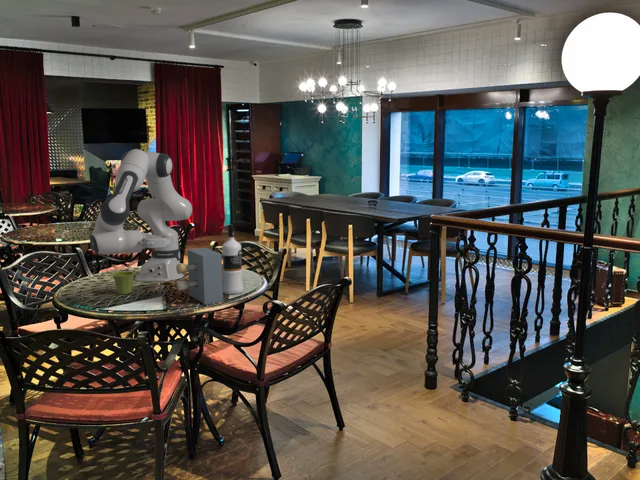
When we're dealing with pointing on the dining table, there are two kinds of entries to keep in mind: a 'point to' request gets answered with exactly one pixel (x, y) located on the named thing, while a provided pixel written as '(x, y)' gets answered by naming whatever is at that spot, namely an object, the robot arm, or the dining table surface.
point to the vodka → (232, 265)
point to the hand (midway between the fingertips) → (169, 239)
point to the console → (206, 275)
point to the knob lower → (185, 284)
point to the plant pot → (123, 282)
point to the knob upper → (184, 268)
